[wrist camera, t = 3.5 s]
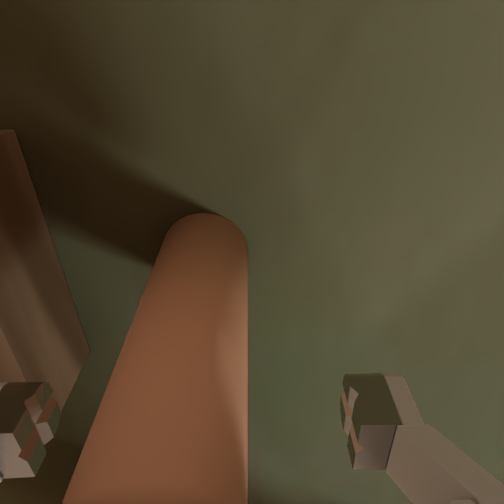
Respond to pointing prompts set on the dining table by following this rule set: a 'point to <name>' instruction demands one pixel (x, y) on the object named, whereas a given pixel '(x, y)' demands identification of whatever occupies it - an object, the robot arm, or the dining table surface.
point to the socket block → (33, 288)
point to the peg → (178, 381)
